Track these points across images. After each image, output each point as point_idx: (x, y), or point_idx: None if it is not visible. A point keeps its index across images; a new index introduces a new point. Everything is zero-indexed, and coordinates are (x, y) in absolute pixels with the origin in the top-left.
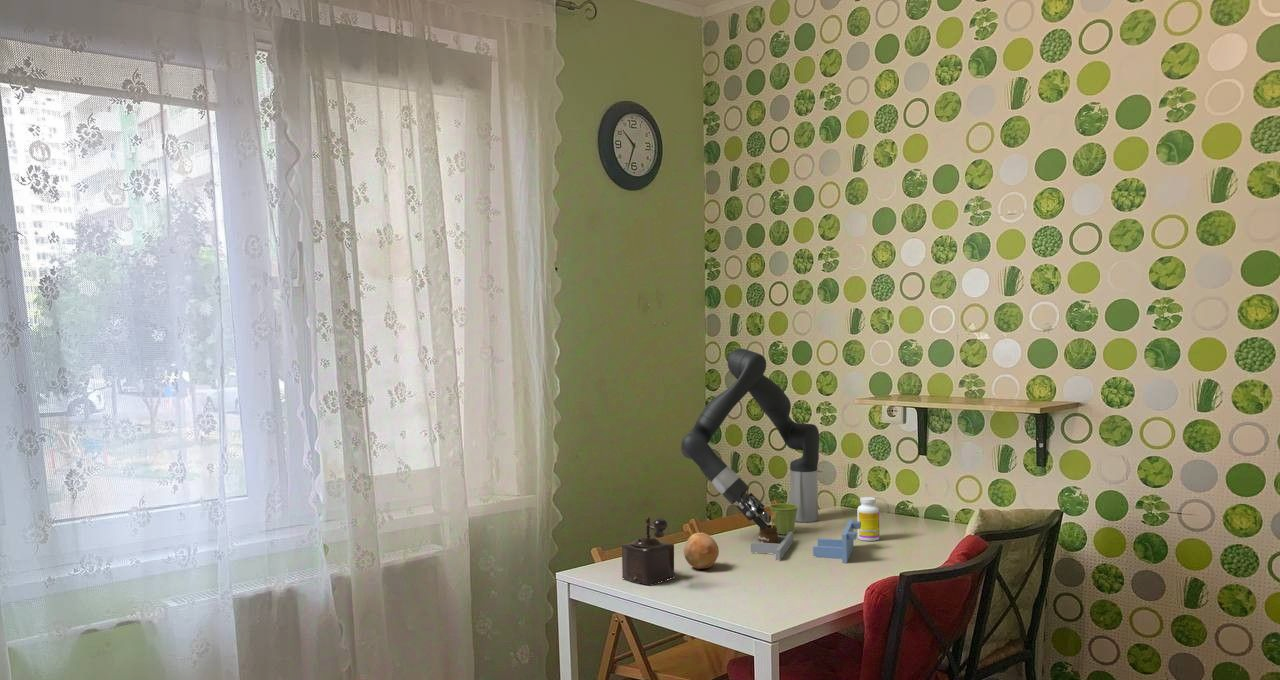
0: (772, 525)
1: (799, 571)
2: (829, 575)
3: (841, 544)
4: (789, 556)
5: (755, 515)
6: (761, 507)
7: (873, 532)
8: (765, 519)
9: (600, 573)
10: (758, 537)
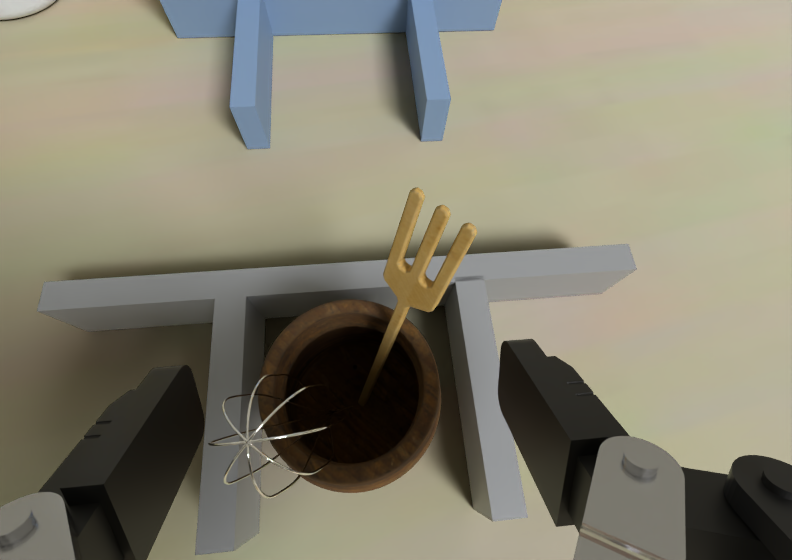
0: (404, 315)
1: (721, 148)
2: (701, 46)
3: (265, 27)
4: (478, 245)
5: (755, 459)
6: (72, 552)
7: None
8: (179, 459)
9: None
10: (239, 531)
